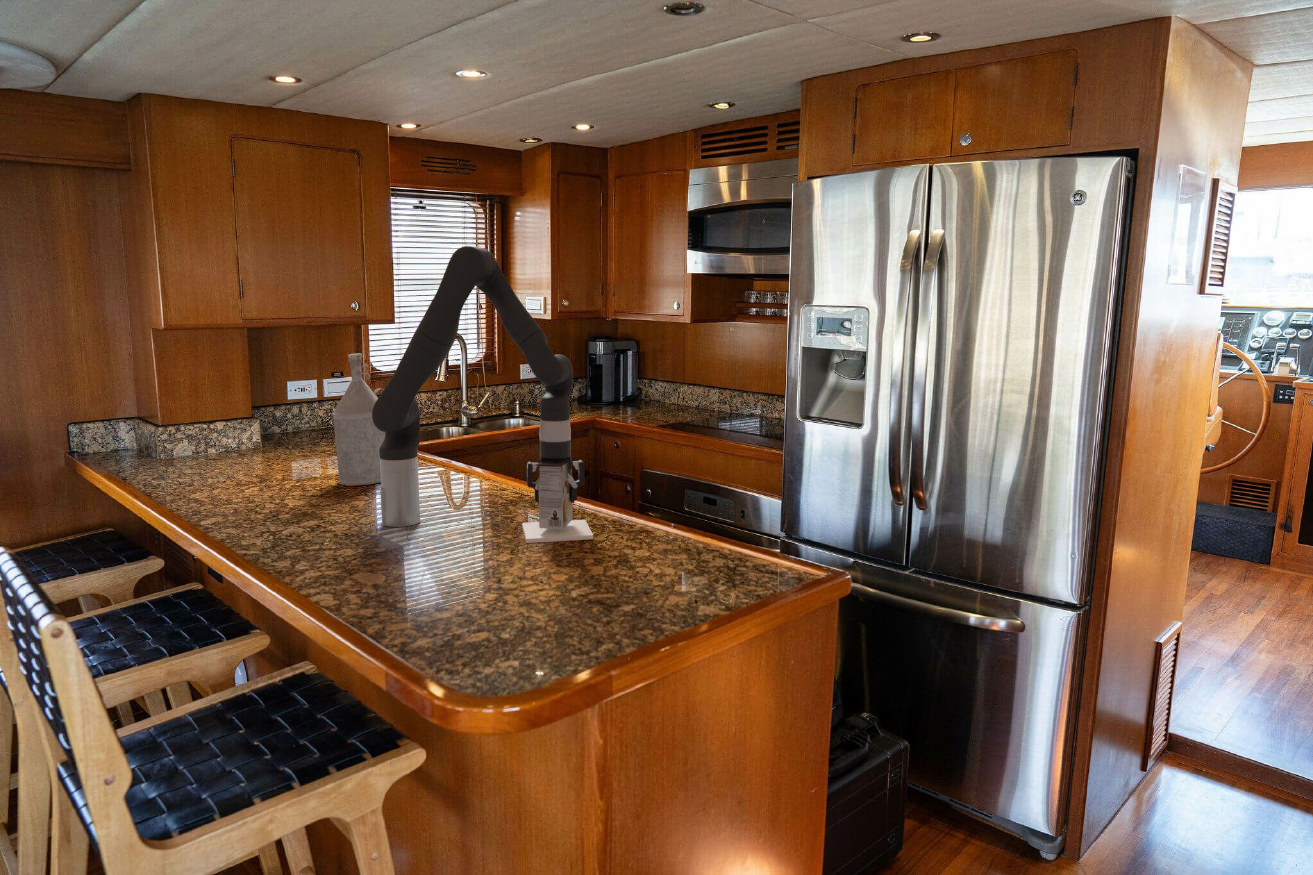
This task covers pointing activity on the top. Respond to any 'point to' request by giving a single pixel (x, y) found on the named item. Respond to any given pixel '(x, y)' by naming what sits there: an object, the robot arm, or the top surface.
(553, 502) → the coffee box
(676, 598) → the top surface
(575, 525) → the mat
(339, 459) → the grey bottle
